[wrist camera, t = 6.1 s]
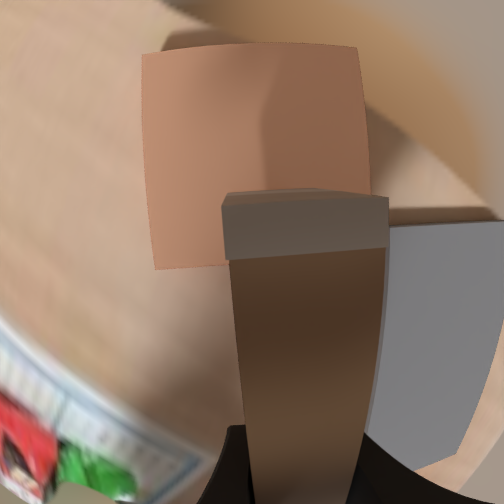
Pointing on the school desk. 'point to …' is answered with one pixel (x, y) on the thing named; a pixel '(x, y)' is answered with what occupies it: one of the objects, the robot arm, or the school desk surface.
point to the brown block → (305, 332)
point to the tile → (244, 135)
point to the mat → (435, 336)
